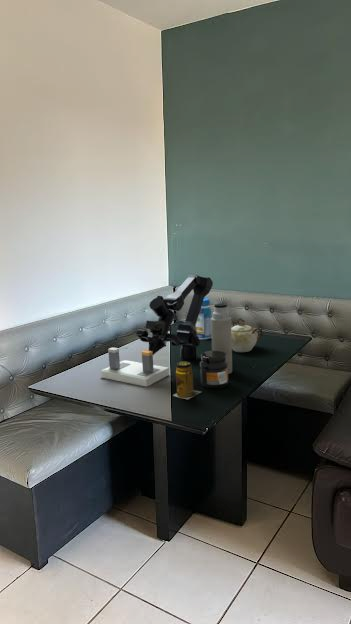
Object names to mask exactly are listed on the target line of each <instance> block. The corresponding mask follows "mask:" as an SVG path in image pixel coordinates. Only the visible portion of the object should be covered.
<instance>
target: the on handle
mask: <svg viewBox="0 0 351 624" xmlns="http://www.w3.org/2000/svg"><path fill="white" fill-rule="evenodd" d="M107 350H108V351H107V352H108V361H109V363H108V364H109V365H108V367H110V368H112V369H118V368H120V362H121V361H120V348H118V347H110V348H108V349H107Z"/></svg>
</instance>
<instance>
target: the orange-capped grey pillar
mask: <svg viewBox="0 0 351 624" xmlns="http://www.w3.org/2000/svg"><path fill="white" fill-rule="evenodd" d="M141 363H142V365H143V372H148V373H151V372H153V371H154V369H153V365H154V355H153V351H149V350H146V349H145V350H142V351H141Z"/></svg>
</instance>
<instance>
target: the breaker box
mask: <svg viewBox="0 0 351 624" xmlns="http://www.w3.org/2000/svg"><path fill="white" fill-rule="evenodd" d="M169 368H170V367H167V366H162V365H155V364H153V369H154V371H153V372H151V373H148V372H143V365H142V362H139V361H138V362H137V361H132V360H127V359H124V360H121V361H120V368H118V369H112V368H110V366H108V367H106V368H103V369H101V370H100V374H101V376H100V377H101V378H103V379H107V380H113V381H118V382H122V383H127V384H131V385H135V386H142V387H148V386H151V385H152V384H154V383H156V382H158V381H160V380H162V379H164V378H165V377H167V376H169V375H170V374H169V373H170V372H169V371H170V369H169Z"/></svg>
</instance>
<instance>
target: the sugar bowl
mask: <svg viewBox="0 0 351 624" xmlns="http://www.w3.org/2000/svg"><path fill="white" fill-rule="evenodd" d="M239 321H241V322H242V323H239ZM245 322H246V321H245V320H244V319H243V318H238V319H237V321H236V324H237V325H234V326H231V338H232V352H233V351H234V352H235V353H246V352H247V353H248V352H250V351H252V350H253V348H254V347H255V345H256V344H257V343H259V340H260V339H261V338H262V336H263V330H262V329H261V328H254V327H253V326H250V325H247V324H245ZM258 332H259V333H260V334H259V333H258Z"/></svg>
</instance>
